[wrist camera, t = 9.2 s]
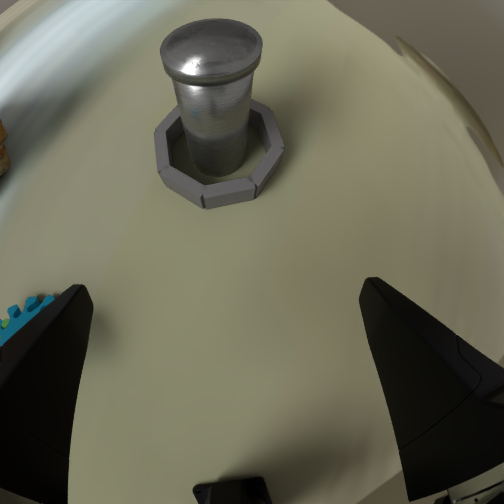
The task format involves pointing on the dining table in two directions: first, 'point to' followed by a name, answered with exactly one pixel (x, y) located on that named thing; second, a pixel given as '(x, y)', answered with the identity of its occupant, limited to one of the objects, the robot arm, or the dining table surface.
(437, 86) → the dining table surface
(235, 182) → the collar
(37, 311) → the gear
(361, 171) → the dining table surface
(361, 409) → the dining table surface
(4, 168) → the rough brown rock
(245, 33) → the metal canister
